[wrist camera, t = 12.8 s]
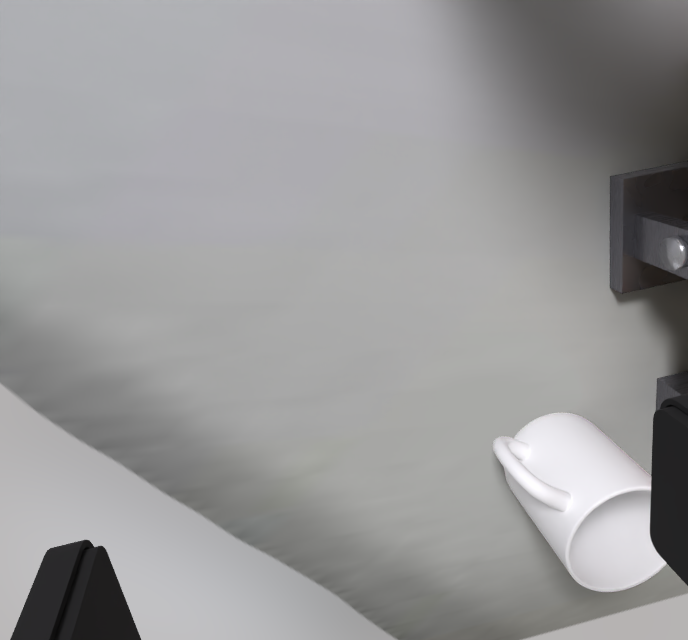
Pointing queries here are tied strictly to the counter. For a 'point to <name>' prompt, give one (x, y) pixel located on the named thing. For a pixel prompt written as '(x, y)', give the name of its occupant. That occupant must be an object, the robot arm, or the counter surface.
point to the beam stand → (650, 239)
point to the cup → (583, 499)
